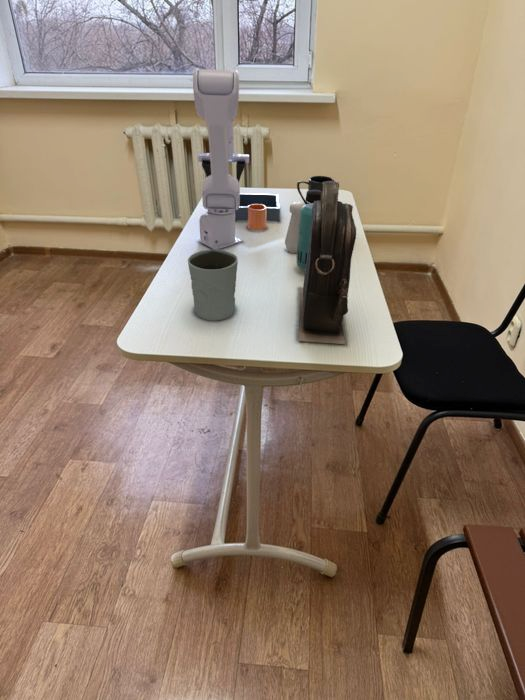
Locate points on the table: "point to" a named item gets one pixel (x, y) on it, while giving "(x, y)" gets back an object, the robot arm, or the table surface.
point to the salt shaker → (293, 227)
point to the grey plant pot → (213, 283)
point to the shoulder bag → (327, 269)
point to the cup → (257, 217)
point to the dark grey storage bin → (265, 199)
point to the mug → (314, 184)
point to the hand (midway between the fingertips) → (224, 187)
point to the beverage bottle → (306, 227)
